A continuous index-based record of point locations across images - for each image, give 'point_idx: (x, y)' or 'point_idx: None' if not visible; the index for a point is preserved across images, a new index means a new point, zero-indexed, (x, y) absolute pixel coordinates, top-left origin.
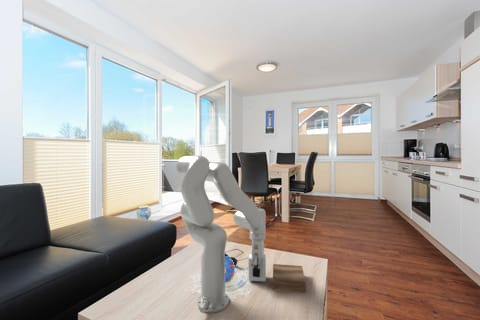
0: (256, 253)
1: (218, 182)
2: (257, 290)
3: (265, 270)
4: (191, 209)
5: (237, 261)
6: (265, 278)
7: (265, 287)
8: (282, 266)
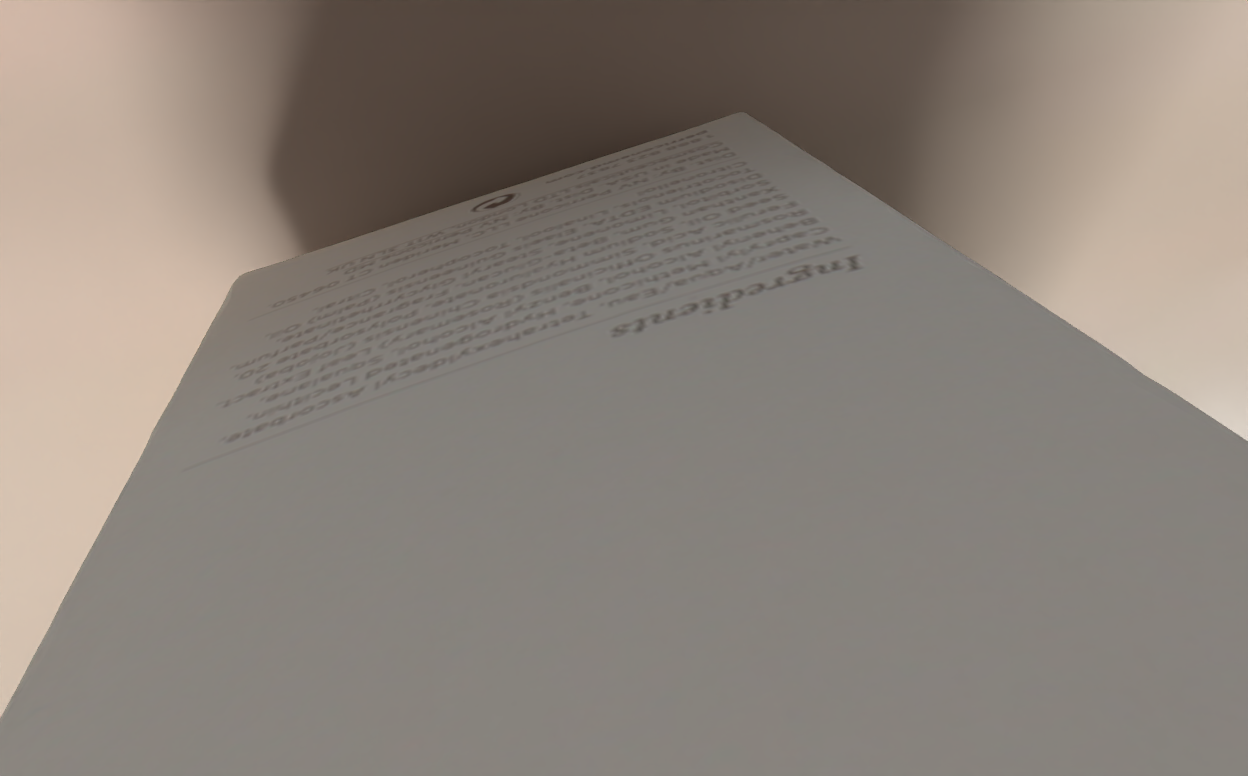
0: None
1: None
2: (1218, 229)
3: (952, 251)
4: None
5: None
6: (779, 134)
7: (996, 8)
8: None
